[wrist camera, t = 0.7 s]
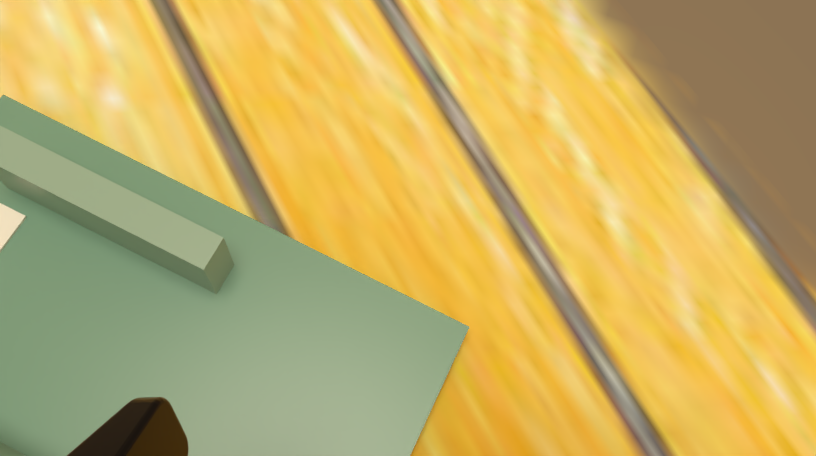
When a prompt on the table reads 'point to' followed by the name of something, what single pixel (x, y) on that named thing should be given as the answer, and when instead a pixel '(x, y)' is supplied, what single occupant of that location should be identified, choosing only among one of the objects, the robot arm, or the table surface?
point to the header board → (191, 315)
